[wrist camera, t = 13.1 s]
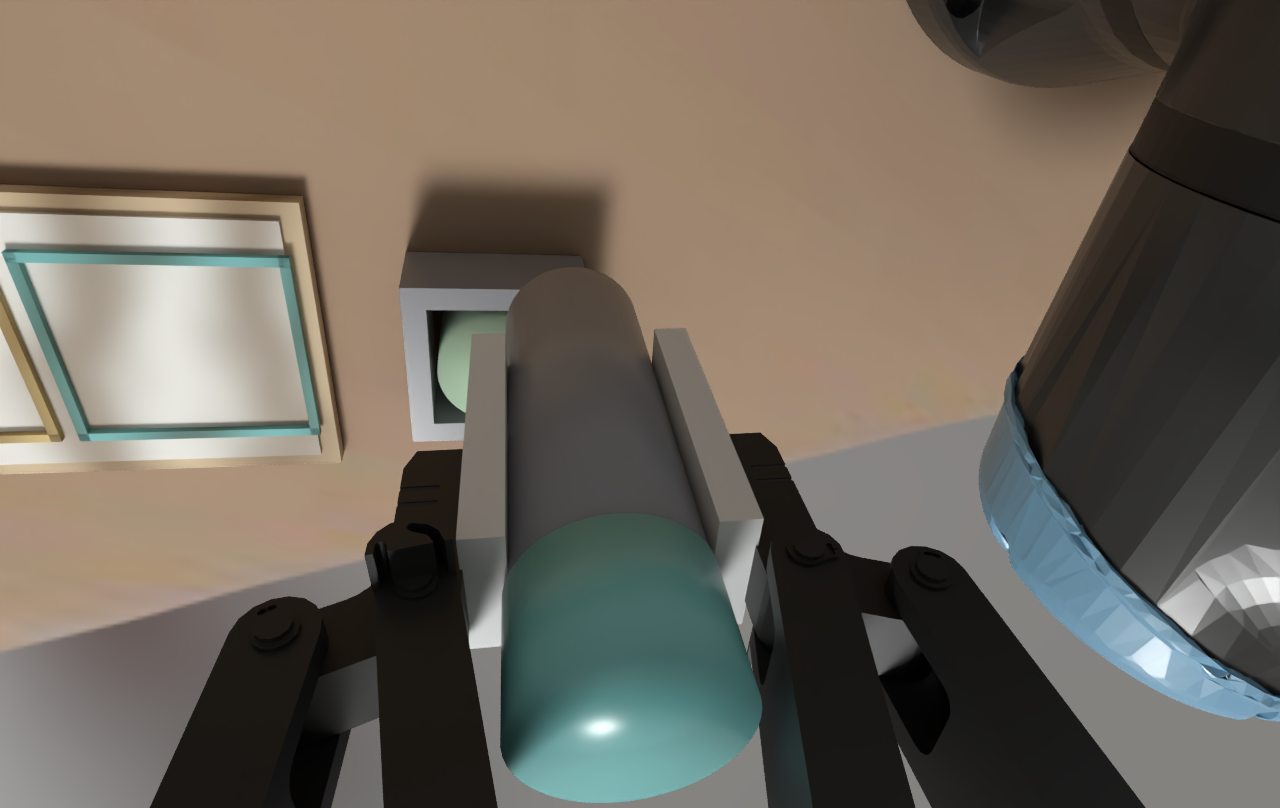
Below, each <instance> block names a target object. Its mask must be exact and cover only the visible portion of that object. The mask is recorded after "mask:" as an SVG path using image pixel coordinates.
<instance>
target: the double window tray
mask: <svg viewBox="0 0 1280 808" xmlns="http://www.w3.org/2000/svg"><path fill="white" fill-rule="evenodd" d="M343 454H344V450H343V444H342V438H341V431H340V425H339V419H338V413H337V406H336V400H335V394H334V388H333V381H332V375H331V369H330V363H329V357H328V350H327V344H326V338H325V332H324V325H323V319H322V313H321V307H320V301H319V294H318V288H317V282H316V276H315V269H314V263H313V257H312V251H311V244H310V238H309V232H308V226H307V220H306V213H305V207H304V201H303V196H291V195H265V194H239V193H213V192H187V191H161V190H135V189H109V188H83V187H57V186H31V185H5V184H0V474H27V473H57V472H86V471H115V470H144V469H173V468H203V467H232V466H261V465H290V464H319V463H342V459H343Z"/></svg>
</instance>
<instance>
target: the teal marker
mask: <svg viewBox="0 0 1280 808" xmlns="http://www.w3.org/2000/svg"><path fill="white" fill-rule="evenodd" d="M506 353H507V469H508V574H507V577H506V580H505V582H504V586H503V590H502V616H501V737H500V741H501V742H500V743H501V744H500V748H501V752H502V757H503V759H504V761H505V763H506V765H507V767H508V768H509V770H510V771H511V772H512V773H513V775H515V776H516V777H517V778H518V779H519V780H520V781H521V782H523V783H524V784H526V785H528V786H529V787H531V788H533V789H535V790H537V791H539V792H541V793H544V794H547V795H550V796H553V797H557V798H561V799H566V800H571V801H579V802H592V803H612V802H624V801H632V800H638V799H644V798H648V797H653V796H657V795H661V794H664V793H668V792H671V791H674V790H677V789H680V788H682V787H685V786H688V785H690V784H692V783H694V782H696V781H698V780H701V779H703V778H705V777H706V776H708V775H710V774H712V773H714V772H715V771H717V770H718V769H720V768H721V767H722V766H724V765H726V764H727V763H728V762H729V761H730V760H732V759H733V758H734V757H735V756H737V755H738V754H739V753H740V752H741V751H742V750H743V748H744V747H745V746H746V745H747V744H748V742H749V741H750V740H751V738H752V737H753V735H754V733H755V732H756V730H757V728H758V725H759V722H760V720H761V714H762V699H761V696H760V693H759V689H758V686H757V683H756V680H755V677H754V674H753V671H752V668H751V665H750V661H749V658H748V655H747V652H746V649H745V646H744V643H743V640H742V637H741V634H740V630H739V627H738V624H737V621H736V618H735V615H734V612H733V609H732V605H731V602H730V599H729V596H728V593H727V590H726V587H725V584H724V581H723V577H722V574H721V571H720V568H719V565H718V562H717V559H716V556H715V555H714V553H713V551H712V549H711V548H710V546H709V543H708V540H707V537H706V534H705V531H704V528H703V524H702V521H701V518H700V515H699V512H698V509H697V505H696V502H695V499H694V496H693V493H692V490H691V486H690V483H689V480H688V477H687V474H686V471H685V468H684V464H683V461H682V458H681V455H680V452H679V449H678V445H677V442H676V439H675V436H674V433H673V430H672V426H671V423H670V420H669V417H668V414H667V411H666V408H665V404H664V401H663V398H662V395H661V392H660V389H659V385H658V382H657V379H656V376H655V373H654V370H653V366H652V363H651V360H650V357H649V354H648V351H647V348H646V344H645V341H644V338H643V335H642V332H641V329H640V325H639V322H638V319H637V316H636V313H635V310H634V307H633V304H632V302H631V300H630V298H629V296H628V295H627V293H626V292H625V290H624V289H623V288H622V287H621V286H620V285H619V284H618V283H617V282H615V281H614V280H613V279H611V278H610V277H608V276H607V275H605V274H602V273H600V272H598V271H595V270H591V269H587V268H581V267H566V268H559V269H554V270H551V271H548V272H545V273H543V274H541V275H539V276H537V277H535V278H534V279H532V280H531V281H529V282H528V283H527V284H526V285H525V286H523V288H522V289H521V290H520V291H519V292H518V293H517V295H516V296H515V297H514V299H513V301H512V303H511V305H510V307H509V310H508V313H507V318H506Z"/></svg>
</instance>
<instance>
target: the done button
mask: <svg viewBox="0 0 1280 808" xmlns="http://www.w3.org/2000/svg"><path fill="white" fill-rule="evenodd" d="M507 313H508V311H470V310H444V312H443V315H442V319H441V328H440V341H439V354H438V370H437V374H438V380H439V383H440V387H441V389H442V391H443V393H444V394H445V396H446V397H447V398H448V399H449V401H450V402H451V403H452V404H453V405H455V406H456V407H457V408H459V409H460V410H462V411H463V412H465V413H466V403H467V390H468V377H469V364H470V351H471V339H472V334H487V333H505V336H506V318H507Z"/></svg>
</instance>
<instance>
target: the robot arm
mask: <svg viewBox="0 0 1280 808" xmlns="http://www.w3.org/2000/svg"><path fill="white" fill-rule="evenodd" d="M907 3H908V5H909V7H910V9H911V11H912V13H913V15H914V17H915V18H916V20H917V22H918V23H919V25H920V26H921V28H922V29H923V31H924V32H925V33H926V35H927V36H928V37H929V38H930V39H931V41H932V42H933V43H934V44H935V45H936V46H937V47H938V48H939V49H940V50H941V51H943V52H944V53H945V54H946V55H948V56H949V57H950V58H952V59H953V60H955V61H956V62H958V63H960V64H961V65H963V66H965V67H967V68H969V69H972V70H974V71H977V72H980V73H982V74H985V75H988V76H991V77H994V78H996V79H999V80H1002V81H1005V82H1008V83H1012V84H1016V85H1022V86H1029V87H1044V88H1054V87H1067V86H1074V85H1080V84H1087V83H1093V82H1099V81H1105V80H1111V79H1118V78H1124V77H1131V76H1137V75H1143V74H1150V73H1156V72H1162V71H1168V72H1167V74H1166V76H1165V78H1164V80H1163V81H1162V83H1161V85H1160V87H1159V89H1158V91H1157V93H1156V97H1155V99H1154V101H1153V103H1152V105H1151V107H1150V109H1149V111H1148V113H1147V115H1146V117H1145V119H1144V121H1143V123H1142V125H1141V127H1140V129H1139V131H1138V133H1137V135H1136V137H1135V139H1134V141H1133V143H1132V144H1131V146H1130V147H1129V149H1128V151H1127V153H1126V155H1125V157H1124V159H1123V161H1122V163H1121V165H1120V167H1119V169H1118V171H1117V173H1116V175H1115V177H1114V179H1113V181H1112V183H1111V185H1110V187H1109V189H1108V191H1107V193H1106V195H1105V197H1104V199H1103V201H1102V203H1101V205H1100V207H1099V209H1098V211H1097V213H1096V215H1095V217H1094V219H1093V221H1092V223H1091V225H1090V227H1089V229H1088V231H1087V233H1086V235H1085V237H1084V239H1083V241H1082V243H1081V245H1080V247H1079V249H1078V251H1077V253H1076V255H1075V257H1074V259H1073V261H1072V263H1071V265H1070V267H1069V269H1068V271H1067V273H1066V275H1065V277H1064V279H1063V281H1062V283H1061V285H1060V287H1059V289H1058V291H1057V293H1056V295H1055V297H1054V299H1053V301H1052V303H1051V305H1050V307H1049V309H1048V311H1047V313H1046V315H1045V317H1044V319H1043V321H1042V323H1041V325H1040V327H1039V329H1038V331H1037V333H1036V335H1035V337H1034V339H1033V341H1032V343H1031V345H1030V347H1029V349H1028V351H1027V353H1026V355H1024V356H1023V357H1022V358H1021V359H1020V361H1019V362H1018V363H1017V364H1016V366H1015V369H1014V371H1013V372H1012V373H1011V374H1010V376H1009V378H1008V379H1007V381H1006V386H1005V391H1004V403H1003V405H1002V408H1001V410H1000V412H999V415H998V417H997V420H996V422H995V424H994V427H993V429H992V431H991V433H990V436H989V438H988V440H987V443H986V445H985V448H984V450H983V454H982V458H981V462H980V469H979V490H980V497H981V502H982V507H983V510H984V514H985V517H986V519H987V522H988V524H989V526H990V528H991V530H992V532H993V534H994V536H995V538H996V540H997V541H998V542H999V543H1000V544H1001V545H1002V547H1003V548H1004V549H1005V550H1006V551H1007V552H1008V554H1009V559H1010V563H1011V566H1012V568H1013V569H1014V570H1015V572H1016V573H1017V575H1018V576H1019V577H1020V579H1021V580H1022V581H1023V582H1024V583H1025V585H1026V586H1027V587H1028V588H1029V589H1030V591H1031V592H1032V593H1033V594H1034V595H1035V597H1036V598H1037V599H1038V600H1039V601H1040V602H1041V603H1042V604H1043V605H1044V606H1045V607H1046V609H1048V611H1049V612H1050V613H1051V614H1053V615H1054V616H1055V617H1056V618H1057V619H1058V620H1059V621H1060V622H1061V623H1062V624H1063V625H1064V626H1065V627H1066V628H1068V629H1069V630H1070V631H1071V632H1072V633H1073V634H1074V635H1075V636H1077V637H1078V638H1079V639H1080V640H1081V641H1083V642H1084V643H1085V644H1087V645H1088V646H1089V647H1090V648H1092V649H1093V650H1094V651H1096V652H1097V653H1098V654H1100V655H1101V656H1102V657H1104V658H1105V659H1107V660H1108V661H1109V662H1111V663H1112V664H1114V665H1115V666H1117V667H1118V668H1120V669H1121V670H1123V671H1124V672H1126V673H1128V674H1129V675H1131V676H1132V677H1134V678H1135V679H1137V680H1139V681H1140V682H1142V683H1144V684H1146V685H1147V686H1149V687H1151V688H1153V689H1155V690H1157V691H1159V692H1161V693H1163V694H1165V695H1167V696H1169V697H1171V698H1173V699H1175V700H1177V701H1180V702H1182V703H1184V704H1187V705H1190V706H1192V707H1195V708H1198V709H1201V710H1204V711H1206V712H1209V713H1213V714H1216V715H1220V716H1225V717H1228V718H1233V719H1239V720H1243V719H1248V718H1250V717H1252V716H1256V717H1257V718H1259V719H1262V720H1273V721H1280V0H907ZM652 366H653V370H654V373H655V376H656V379H657V382H658V385H659V389H660V392H661V395H662V398H663V401H664V404H665V408H666V411H667V414H668V417H669V420H670V423H671V426H672V430H673V433H674V436H675V439H676V442H677V445H678V449H679V452H680V455H681V458H682V461H683V464H684V468H685V471H686V474H687V477H688V480H689V483H690V486H691V490H692V493H693V496H694V499H695V502H696V505H697V509H698V512H699V515H700V518H701V521H702V524H703V528H704V531H705V534H706V537H707V540H708V543H709V546H710V548H711V549H712V551H713V553H714V555H715V556H716V559H717V562H718V565H719V568H720V571H721V574H722V577H723V581H724V584H725V587H726V590H727V593H728V596H729V599H730V602H731V605H732V609H733V612H734V615H735V618H736V621H737V624H742V622H743V617H744V612H745V607H746V606H747V609H748V612H749V615H750V618H751V620H752V623H753V627H752V632H751V636H750V641H749V645H748V650H747V655H748V658H749V661H750V665H751V664H752V669H753V674H754V677H755V680H756V683H757V686H758V689H759V693H760V696H761V699H762V714H761V720H760V722H759V729H760V738H761V746H762V756H763V764H764V773H765V782H766V791H767V799H768V808H915V804H914V801H913V798H912V793H911V790H910V786H909V783H908V779H907V775H906V772H905V768H904V765H903V761H902V757H901V754H900V750H899V747H898V744H899V746H900V748H901V750H902V752H903V754H904V756H905V758H906V759H907V761H908V763H909V765H910V767H911V769H912V771H913V773H914V775H915V776H916V779H917V780H918V782H919V784H920V786H921V788H922V790H923V792H924V794H925V796H926V798H927V800H928V801H929V803H930V805H931V807H932V808H1145V806H1144V805H1143V804H1142V803H1141V801H1140V800H1139V799H1138V797H1137V796H1136V795H1135V793H1134V792H1133V791H1132V790H1131V788H1130V787H1129V785H1128V784H1127V783H1126V781H1125V780H1124V779H1123V777H1122V776H1121V775H1120V773H1119V772H1118V771H1117V770H1116V768H1115V767H1114V766H1113V764H1112V763H1111V762H1110V761H1109V759H1108V758H1107V756H1106V755H1105V754H1104V752H1103V751H1102V750H1101V748H1100V747H1099V746H1098V745H1097V743H1096V742H1095V741H1094V739H1093V738H1092V737H1091V735H1090V734H1089V733H1088V732H1087V730H1086V729H1085V727H1084V726H1083V725H1082V723H1081V722H1080V721H1079V719H1078V718H1077V717H1076V716H1075V714H1074V713H1073V712H1072V711H1071V709H1070V708H1069V706H1068V705H1067V704H1066V702H1065V701H1064V700H1063V698H1062V697H1061V696H1060V695H1059V693H1058V692H1057V690H1056V689H1055V688H1054V687H1053V685H1052V684H1051V683H1050V681H1049V680H1048V679H1047V677H1046V676H1045V675H1044V674H1043V672H1042V671H1041V669H1040V668H1039V667H1038V665H1037V664H1036V663H1035V661H1034V660H1033V659H1032V657H1031V656H1030V655H1029V654H1028V652H1027V651H1026V650H1025V648H1024V647H1023V646H1022V644H1021V643H1020V642H1019V640H1018V639H1017V638H1016V636H1015V635H1014V634H1013V633H1012V631H1011V630H1010V628H1009V627H1008V626H1007V625H1006V623H1005V622H1004V621H1003V619H1002V618H1001V617H1000V615H999V614H998V613H997V611H996V610H995V609H994V607H993V606H992V605H991V603H990V602H989V601H988V599H987V598H986V597H985V596H984V594H983V593H982V592H981V590H980V589H979V588H978V586H977V585H976V584H975V582H974V581H973V580H972V578H971V577H970V576H969V574H968V573H967V572H966V571H965V569H964V568H963V567H962V566H960V564H959V563H957V561H955V559H953V558H952V557H950V556H948V555H946V554H945V553H943V552H941V551H939V550H935V549H932V548H928V547H922V546H910V547H907V548H904V549H901V550H899V551H898V552H897V553H896V555H895V556H894V557H893V558H892V561H891V563H888V562H883V561H877V560H871V559H866V558H861V557H857V556H853V555H850V554H847V553H845V552H843V550H842V548H841V546H840V544H839V543H838V542H837V541H836V540H834V539H833V538H832V537H831V536H830V535H828V534H826V533H824V532H822V531H820V530H818V529H817V528H816V527H815V524H814V522H813V520H812V518H811V516H810V514H809V512H808V510H807V508H806V506H805V504H804V502H803V500H802V498H801V496H800V494H799V492H798V490H797V488H796V486H795V484H794V481H792V480H791V475H790V473H789V471H788V469H787V468H786V467H785V463H784V461H783V459H782V457H781V455H780V453H779V451H778V449H777V447H776V446H775V445H774V444H773V443H772V442H770V441H769V440H768V439H767V438H766V437H765V436H763V435H762V434H761V433H743V434H729V433H728V431H727V428H726V426H725V423H724V421H723V418H722V416H721V414H720V411H719V409H718V406H717V404H716V401H715V399H714V397H713V394H712V392H711V389H710V387H709V384H708V382H707V380H706V377H705V375H704V372H703V370H702V367H701V365H700V363H699V360H698V358H697V355H696V353H695V350H694V348H693V346H692V343H691V341H690V338H689V336H688V333H687V331H686V329H685V328H676V329H654V342H653V355H652ZM365 560H366V564H367V568H368V573H369V577H370V581H371V586H370V587H369V588H368V589H366V590H364V591H363V592H361V593H360V594H358V595H356V596H354V597H351V598H349V599H347V600H344V601H341V602H338V603H336V604H333V605H330V606H326V607H323V608H320V609H318V608H317V606H316V605H315V604H313V603H312V602H310V601H308V600H307V599H305V598H298V597H283V598H277V599H271V600H269V601H266V602H264V603H262V604H260V605H257V606H255V607H253V608H252V609H251V610H250V611H248V612H247V613H246V614H244V615H243V616H242V617H241V618H239V619H238V621H237V622H236V624H235V625H234V626H233V628H232V629H231V631H230V632H229V634H228V636H227V638H226V641H225V643H224V645H223V647H222V649H221V652H220V654H219V656H218V658H217V661H216V663H215V665H214V667H213V670H212V672H211V674H210V676H209V678H208V680H207V683H206V685H205V687H204V689H203V691H202V694H201V696H200V698H199V700H198V703H197V705H196V707H195V709H194V711H193V714H192V716H191V718H190V720H189V722H188V724H187V727H186V729H185V731H184V733H183V736H182V738H181V740H180V742H179V744H178V747H177V749H176V751H175V753H174V755H173V758H172V760H171V762H170V764H169V767H168V769H167V771H166V773H165V775H164V777H163V780H162V782H161V784H160V786H159V789H158V791H157V793H156V795H155V798H154V800H153V802H152V804H151V806H150V808H331V806H332V802H333V798H334V794H335V790H336V786H337V782H338V778H339V775H340V771H341V767H342V763H343V759H344V755H345V751H346V747H347V743H348V739H349V735H350V731H351V729H352V728H354V727H357V726H359V725H362V724H364V723H367V722H369V721H371V720H373V719H376V718H379V722H380V742H381V762H382V780H383V781H382V782H383V801H384V808H498V807H497V801H496V796H495V790H494V784H493V778H492V772H491V767H490V761H489V755H488V749H487V744H486V738H485V733H484V726H483V720H482V715H481V709H480V703H479V698H478V692H477V686H476V680H475V674H474V669H473V663H472V658H471V652H470V649H475V648H486V647H497V646H501V616H502V590H503V586H504V582H505V580H506V577H507V574H508V469H507V353H506V336H505V333H487V334H472V339H471V351H470V364H469V377H468V390H467V403H466V415H465V428H464V441H463V449H454V450H435V451H417V452H416V454H415V455H414V456H413V457H412V459H411V460H410V461H409V462H408V464H407V465H406V466H405V467H404V469H403V475H402V480H401V486H400V492H399V497H398V506H397V508H396V514H395V520H394V523H390V524H389V525H387V526H386V527H384V528H382V529H381V530H379V531H378V532H376V534H375V535H374V536H373V537H372V539H371V540H370V541H369V542H368V543H367V547H366V552H365ZM897 742H898V743H897Z"/></svg>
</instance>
